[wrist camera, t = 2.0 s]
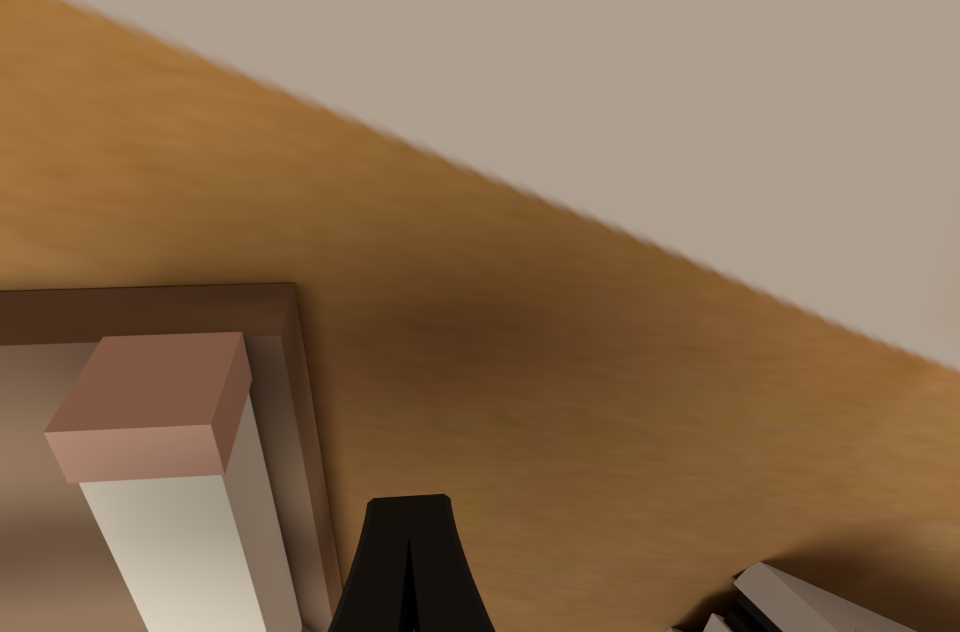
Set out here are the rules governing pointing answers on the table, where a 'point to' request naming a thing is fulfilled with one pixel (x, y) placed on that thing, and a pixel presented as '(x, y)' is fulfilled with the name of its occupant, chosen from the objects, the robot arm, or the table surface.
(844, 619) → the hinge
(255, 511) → the folding leg
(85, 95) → the table surface
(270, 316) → the stool seat
